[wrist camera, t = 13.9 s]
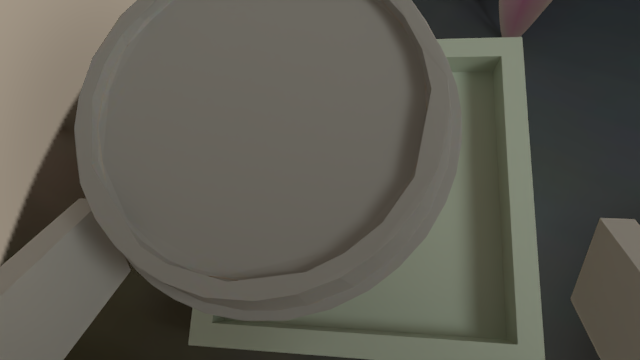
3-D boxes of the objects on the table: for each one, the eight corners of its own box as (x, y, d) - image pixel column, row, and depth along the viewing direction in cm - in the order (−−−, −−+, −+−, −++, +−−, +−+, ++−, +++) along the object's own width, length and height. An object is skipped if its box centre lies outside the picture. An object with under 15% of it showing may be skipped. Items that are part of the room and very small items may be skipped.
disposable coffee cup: (223, 130, 22) (61, -32, 11) (399, 100, 22) (426, -111, 10) (235, 312, 20) (44, 353, 8) (434, 287, 19) (525, 295, 8)
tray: (506, 63, 22) (522, 36, 20) (524, 361, 19) (545, 373, 16) (238, 68, 24) (223, 44, 22) (209, 337, 21) (188, 345, 18)
